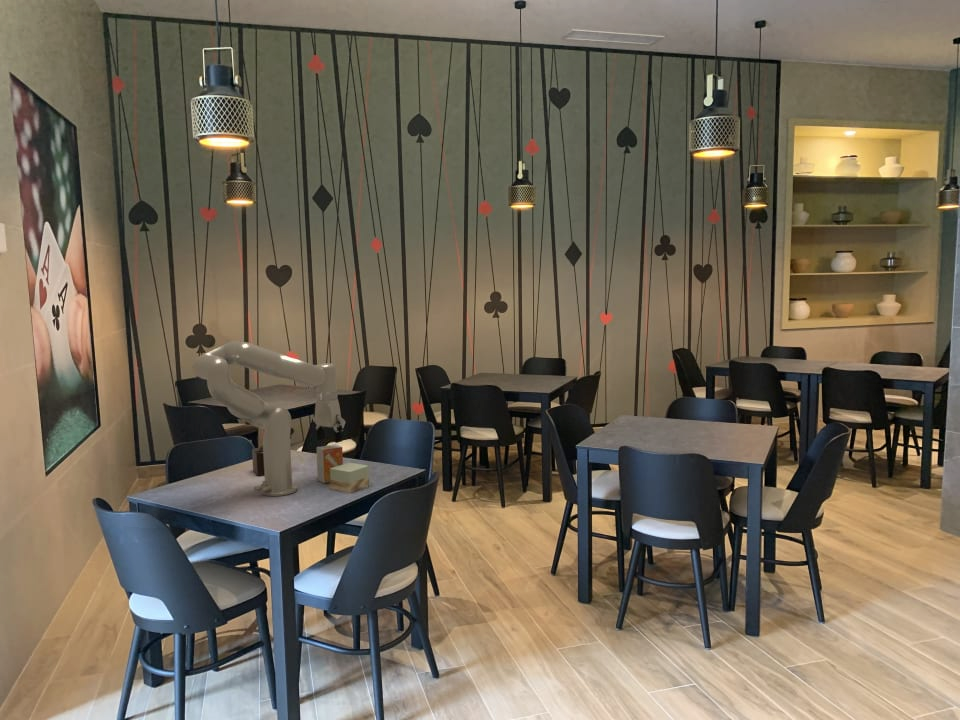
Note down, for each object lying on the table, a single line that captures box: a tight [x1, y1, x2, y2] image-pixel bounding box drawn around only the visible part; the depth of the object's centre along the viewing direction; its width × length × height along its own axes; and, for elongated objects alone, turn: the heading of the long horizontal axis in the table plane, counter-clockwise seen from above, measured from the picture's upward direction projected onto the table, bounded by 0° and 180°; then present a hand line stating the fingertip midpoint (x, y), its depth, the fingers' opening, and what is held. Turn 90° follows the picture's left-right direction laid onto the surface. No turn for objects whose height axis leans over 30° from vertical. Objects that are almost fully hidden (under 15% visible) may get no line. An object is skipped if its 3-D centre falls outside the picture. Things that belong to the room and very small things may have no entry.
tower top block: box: [330, 462, 370, 483], centre depth 270 cm, size 10×10×4 cm
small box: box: [316, 443, 344, 484], centre depth 280 cm, size 8×6×13 cm
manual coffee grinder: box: [251, 427, 295, 477], centre depth 296 cm, size 16×11×18 cm
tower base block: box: [329, 476, 370, 494], centre depth 270 cm, size 10×10×4 cm
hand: (329, 440), depth 279 cm, fingers open, 9 cm apart
